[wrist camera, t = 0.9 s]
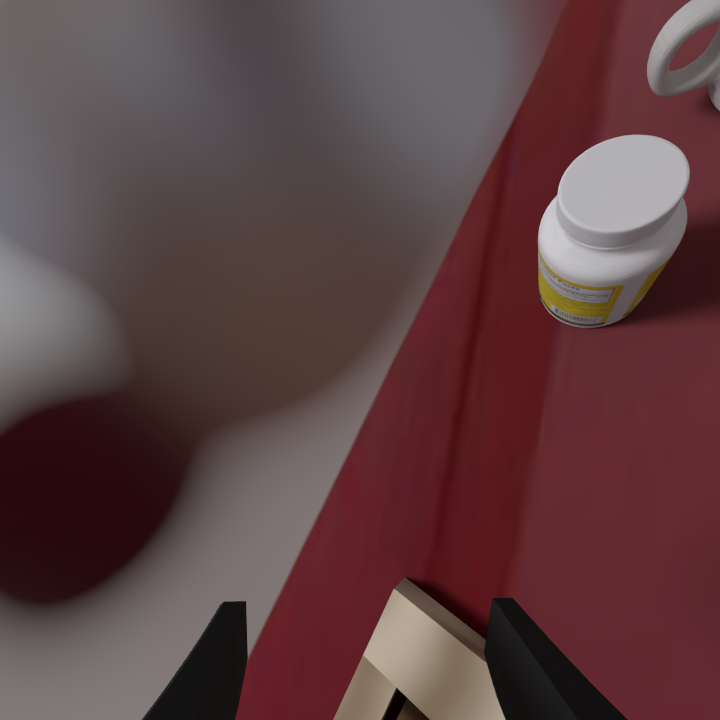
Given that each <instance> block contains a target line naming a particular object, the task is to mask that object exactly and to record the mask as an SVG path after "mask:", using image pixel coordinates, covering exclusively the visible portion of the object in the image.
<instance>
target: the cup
mask: <svg viewBox="0 0 720 720" xmlns="http://www.w3.org/2000/svg"><path fill="white" fill-rule="evenodd" d="M716 22H720V0H691V1H690V2H689V3H687V4H686V5H685V6H683V7H682V8H681V9H680V10H679V11H677V12H676V13H675V14H674V15H673V16H672V17H671V18H670V19H669V21H668V22H667V23H666V24H665V25H664V27H663V28H662V30H661V31H660V33H659V34H658V36H657V38H656V40H655V42H654V44H653V47H652V49H651V52H650V56H649V60H648V65H647V76H648V81H649V84H650V87H651V89H652V91H653V92H654V93H655V94H657V95H659V96H662V97H670V96H675V95H679V94H682V93H686V92H689V91H692V90H694V89H697V88H700V87H703V86H708V92H709V96H710V98H711V101H712V102H713V104H714V105H715V107H716V108H717V109H718V110H719V111H720V25H719V28H718V31H717V33H716V35H715V37H714V39H713V40H712V42H711V43H710V45H709V46H708V48H707V49H706V50H705V52H704V53H703V54H702V55H701V56H700V57H698V58H697V59H696V60H695V61H693V62H692V63H691V64H689V65H688V66H686V67H684V68H682V69H679V70H676V71H669V65H670V62H671V60H672V58H673V56H674V54H675V53H676V51H677V50H678V48H679V47H680V46H681V45H682V44H683V43H684V41H685V40H686V39H688V38H689V37H690V36H691V35H692V34H694V33H695V32H697V31H698V30H699V29H701V28H703V27H705V26H707V25H710V24H712V23H716Z"/></svg>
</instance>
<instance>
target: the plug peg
mask: <svg viewBox="0 0 720 720" xmlns="http://www.w3.org/2000/svg"><path fill="white" fill-rule="evenodd" d="M397 720H430V719H429V718H428V717H427V716H426V715H425V714H424V713H422V712H421V711H420V710H419V709H418V708H417V707H416V706H415V705H414V704H413V703H412V702H411V701H410V700H409V699H408V698H407V700H406V702H405V704H404V706H403V708H402V710H401V712H400V714H399V716H398V718H397Z"/></svg>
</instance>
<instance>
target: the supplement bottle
mask: <svg viewBox="0 0 720 720" xmlns="http://www.w3.org/2000/svg"><path fill="white" fill-rule="evenodd" d="M689 178H690V169H689V164H688V161H687V159H686V157H685V155H684V154H683V153H682V151H681V150H680V149H679V148H678V147H677V146H675V145H674V144H672V143H671V142H669V141H667V140H664V139H662V138H659V137H655V136H649V135H627V136H621V137H616V138H613V139H610V140H606V141H604V142H602V143H599V144H597V145H595V146H593V147H591V148H590V149H588V150H587V151H585V152H584V153H582V154H581V155H580V156H579V157H577V158H576V159H575V160H574V161H573V162H572V163H571V165H570V166H569V167H568V169H567V170H566V171H565V173H564V175H563V177H562V179H561V181H560V184H559V188H558V195H557V196H556V197H555V198H554V199H553V200H552V202H551V203H550V204H549V206H548V207H547V209H546V211H545V213H544V215H543V217H542V220H541V223H540V227H539V235H538V265H539V291H540V297H541V300H542V302H543V304H544V306H545V308H546V309H547V310H548V312H549V313H550V314H551V315H552V316H554V317H555V318H556V319H558V320H559V321H561V322H563V323H565V324H568V325H571V326H575V327H581V328H595V327H601V326H606V325H609V324H612V323H614V322H617V321H619V320H621V319H622V318H624V317H625V316H627V315H628V314H629V313H630V312H632V311H633V310H634V309H635V308H636V306H637V305H638V304H639V303H640V302H641V300H642V299H643V297H644V296H645V294H646V293H647V291H648V290H649V289H650V287H651V286H652V284H653V283H654V281H655V280H656V278H657V277H658V275H659V274H660V272H661V271H662V270H663V268H664V267H665V265H666V264H667V262H668V261H669V259H670V258H671V257H672V255H673V254H674V252H675V250H676V249H677V247H678V245H679V243H680V241H681V239H682V237H683V235H684V232H685V229H686V224H687V208H686V204H685V201H684V199H683V196H684V194H685V192H686V189H687V187H688V184H689Z"/></svg>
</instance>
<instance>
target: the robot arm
mask: <svg viewBox="0 0 720 720" xmlns="http://www.w3.org/2000/svg"><path fill="white" fill-rule="evenodd" d="M484 655H485V659H486V662H487V666H488V669H489V673H490V676H491V680H492V683H493V686H494V689H495V693H496V696H497V699H498V702H499V704H500V707H501V709H502V712H503V715H504V717H505V720H628V719H627V718H625V717H624V716H623V715H622V714H621V713H620V712H619V711H618V710H617V709H616V708H615V707H614V706H613V705H612V704H611V703H610V702H609V701H608V700H607V699H606V698H605V697H604V696H603V695H602V694H601V693H600V692H599V691H598V690H597V689H596V688H595V687H594V686H593V685H592V684H591V683H590V682H589V681H588V680H587V679H586V677H585V676H584V675H583V674H582V673H581V672H580V671H579V670H578V669H577V668H576V667H575V666H574V665H573V664H572V663H571V662H570V661H569V660H568V658H567V657H566V656H565V655H564V654H563V653H562V652H561V651H560V650H559V649H558V648H557V647H556V646H555V644H554V643H553V642H552V641H551V640H550V639H549V638H548V637H547V636H546V634H545V633H544V632H543V631H542V630H541V629H540V628H539V627H538V626H537V625H536V623H535V622H534V621H533V620H532V619H531V618H530V617H529V616H528V615H527V613H526V612H525V611H524V610H523V609H522V608H521V607H520V606H519V605H518V603H517V602H516V601H515V600H514V599H513V598H493V599H492V605H491V611H490V617H489V623H488V630H487V636H486V642H485V648H484ZM247 659H248V655H247V623H246V601H244V602H243V601H239V602H238V601H237V602H223V603H222V604H221V605H220V606H219V608H218V610H217V611H216V613H215V615H214V616H213V618H212V619H211V621H210V623H209V624H208V626H207V628H206V629H205V631H204V632H203V634H202V635H201V637H200V639H199V640H198V642H197V643H196V645H195V646H194V648H193V649H192V651H191V652H190V654H189V655H188V657H187V658H186V660H185V661H184V662H183V664H182V665H181V667H180V668H179V670H178V671H177V672H176V674H175V676H174V677H173V678H172V680H171V681H170V682H169V684H168V685H167V687H166V688H165V689H164V691H163V692H162V694H161V695H160V696H159V698H158V699H157V700H156V702H155V703H154V704H153V706H152V707H151V708H150V710H149V711H148V712H147V714H146V715H145V716H144V717H143V719H142V720H235V717H236V713H237V709H238V705H239V700H240V695H241V690H242V685H243V680H244V675H245V669H246V664H247Z"/></svg>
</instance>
